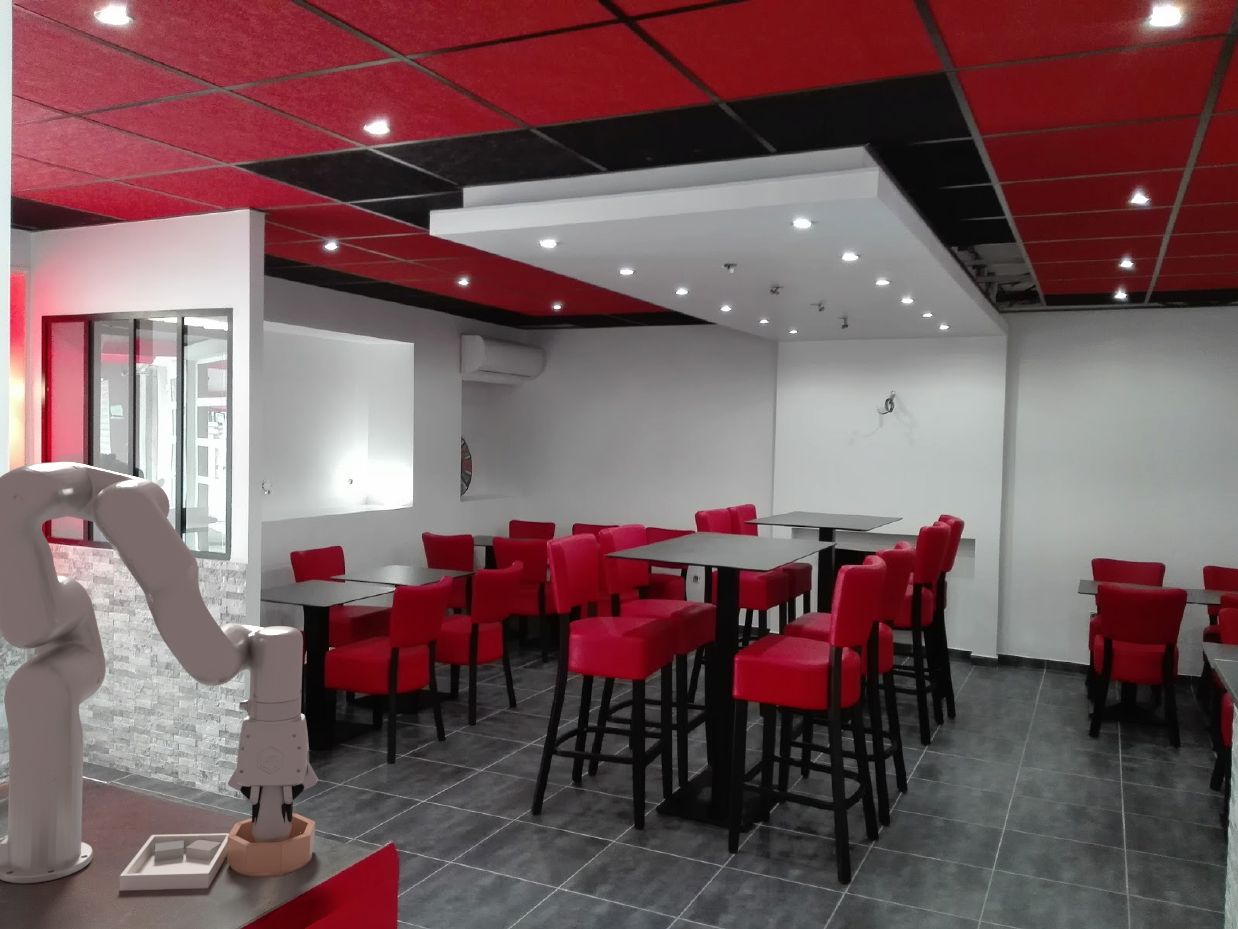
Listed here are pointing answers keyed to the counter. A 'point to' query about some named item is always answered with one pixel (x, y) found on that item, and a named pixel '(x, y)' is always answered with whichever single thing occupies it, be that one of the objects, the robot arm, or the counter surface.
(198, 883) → the tray
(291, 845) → the bowl
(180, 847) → the grey rectangular block
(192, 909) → the counter surface
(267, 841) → the salt shaker
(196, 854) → the beige rectangular block
